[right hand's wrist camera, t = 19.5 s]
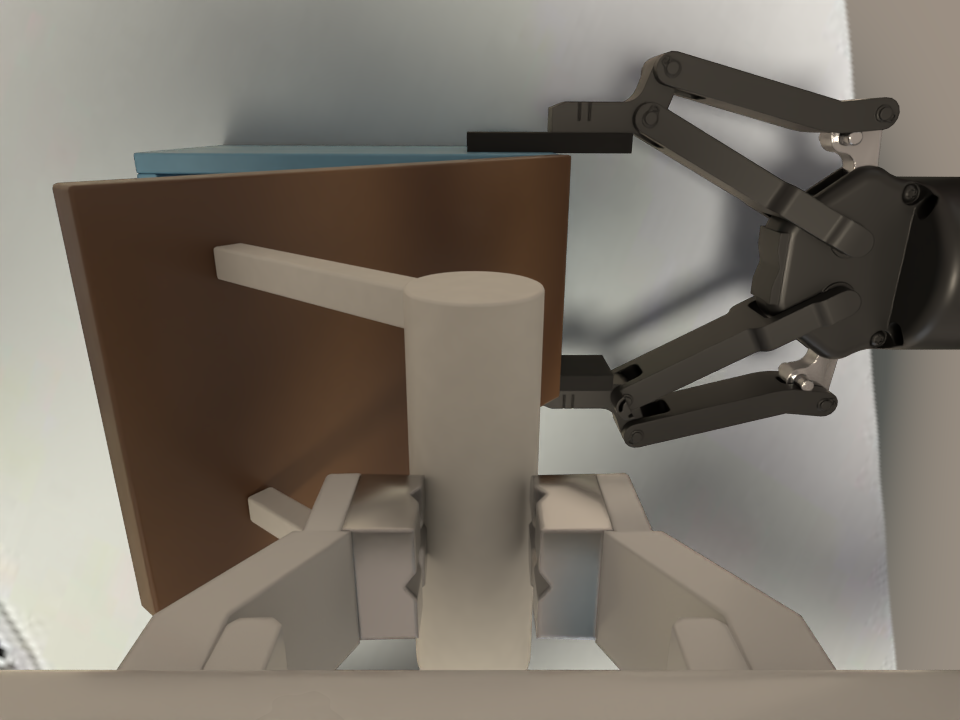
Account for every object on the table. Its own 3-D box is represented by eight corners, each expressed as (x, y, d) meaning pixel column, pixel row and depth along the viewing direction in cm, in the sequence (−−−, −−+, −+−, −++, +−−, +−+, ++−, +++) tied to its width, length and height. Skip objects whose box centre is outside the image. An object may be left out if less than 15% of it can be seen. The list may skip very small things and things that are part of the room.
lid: (140, 607, 15) (409, 860, 10) (49, 182, 12) (379, 231, 7) (542, 391, 27) (757, 454, 22) (552, 154, 24) (806, 163, 19)
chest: (243, 327, 36) (173, 392, 27) (220, 145, 32) (132, 152, 24) (528, 325, 36) (549, 389, 27) (533, 146, 33) (560, 154, 24)
